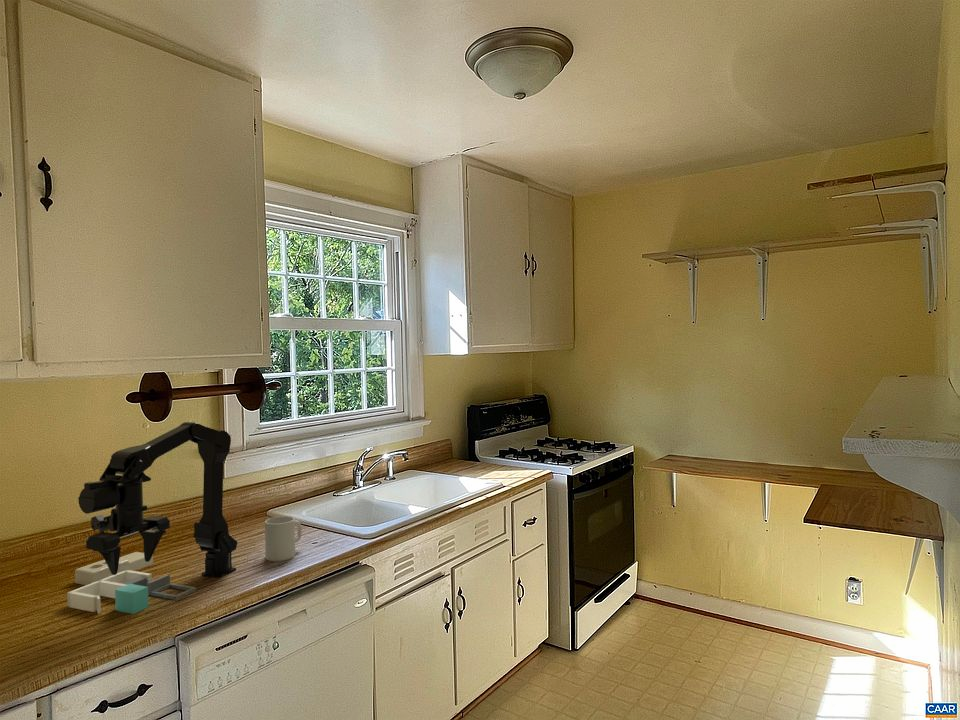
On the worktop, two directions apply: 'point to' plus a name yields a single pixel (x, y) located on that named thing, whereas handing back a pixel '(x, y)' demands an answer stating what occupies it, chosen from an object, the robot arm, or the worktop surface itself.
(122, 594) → the plug
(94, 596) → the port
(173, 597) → the grey rectangular frame stand
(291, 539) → the mug
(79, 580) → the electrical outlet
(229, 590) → the worktop surface
